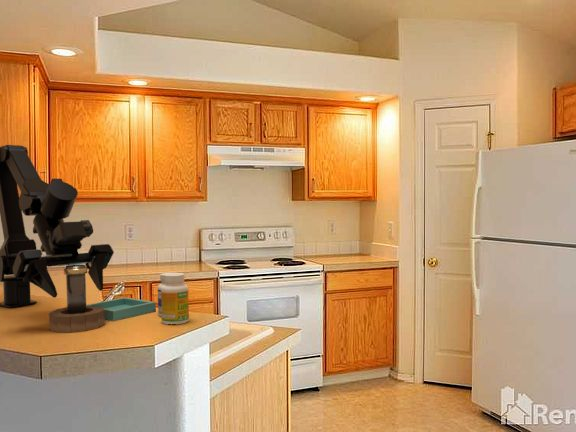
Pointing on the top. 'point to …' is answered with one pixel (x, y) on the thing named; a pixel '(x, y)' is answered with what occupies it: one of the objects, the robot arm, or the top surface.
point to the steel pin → (76, 288)
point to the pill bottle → (160, 293)
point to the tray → (125, 308)
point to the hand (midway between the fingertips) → (79, 292)
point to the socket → (76, 320)
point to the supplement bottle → (174, 299)
